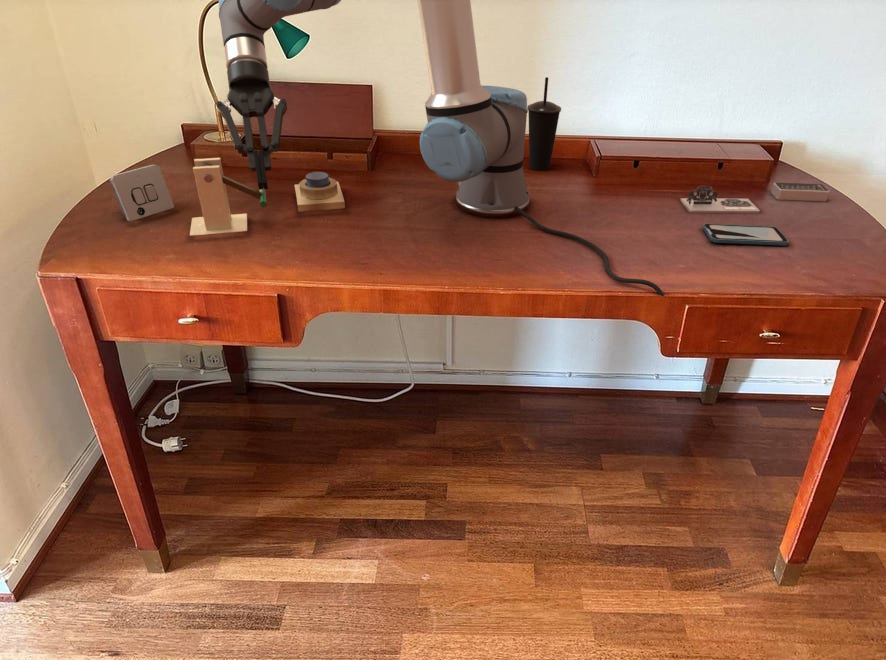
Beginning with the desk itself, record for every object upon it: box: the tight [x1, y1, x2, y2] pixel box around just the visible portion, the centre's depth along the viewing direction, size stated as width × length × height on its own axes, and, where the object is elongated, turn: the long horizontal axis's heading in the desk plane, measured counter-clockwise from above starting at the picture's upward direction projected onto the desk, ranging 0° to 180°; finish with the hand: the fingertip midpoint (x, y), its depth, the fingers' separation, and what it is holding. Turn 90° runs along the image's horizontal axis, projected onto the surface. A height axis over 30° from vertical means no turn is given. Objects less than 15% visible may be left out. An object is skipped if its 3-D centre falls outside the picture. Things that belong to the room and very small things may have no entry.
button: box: [305, 171, 330, 188], centre depth 137 cm, size 4×4×2 cm
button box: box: [294, 177, 346, 213], centre depth 138 cm, size 9×11×4 cm
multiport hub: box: [770, 182, 831, 202], centre depth 150 cm, size 4×11×2 cm, turn 89°
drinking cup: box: [527, 76, 562, 171], centre depth 156 cm, size 8×8×20 cm
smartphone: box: [702, 223, 790, 246], centre depth 132 cm, size 7×1×15 cm
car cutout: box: [679, 185, 761, 214], centre depth 144 cm, size 15×7×4 cm, turn 94°
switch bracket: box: [189, 157, 248, 237], centre depth 125 cm, size 10×8×13 cm
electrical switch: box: [108, 164, 175, 222], centre depth 130 cm, size 9×5×9 cm, turn 141°
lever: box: [202, 162, 268, 208], centre depth 124 cm, size 12×7×2 cm
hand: (262, 186), depth 126 cm, fingers closed
